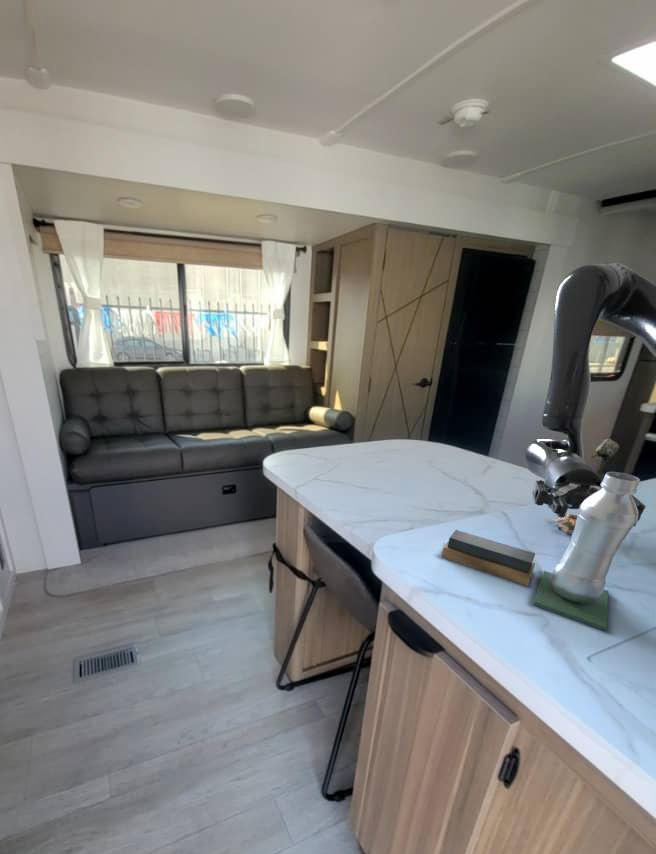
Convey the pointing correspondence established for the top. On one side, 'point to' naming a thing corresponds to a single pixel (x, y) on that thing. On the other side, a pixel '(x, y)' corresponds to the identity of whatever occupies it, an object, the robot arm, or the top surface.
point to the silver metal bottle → (596, 538)
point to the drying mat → (572, 605)
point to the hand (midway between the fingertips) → (596, 517)
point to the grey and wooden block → (490, 556)
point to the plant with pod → (606, 452)
